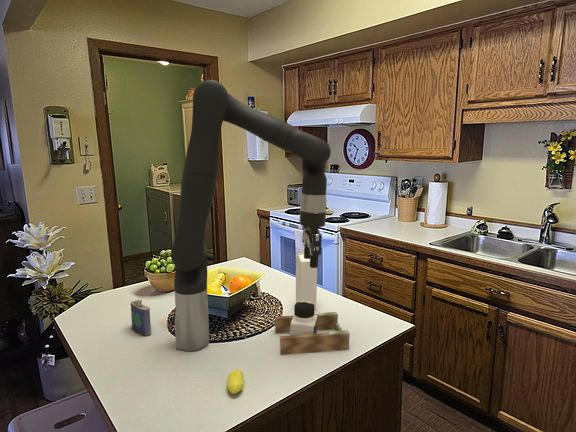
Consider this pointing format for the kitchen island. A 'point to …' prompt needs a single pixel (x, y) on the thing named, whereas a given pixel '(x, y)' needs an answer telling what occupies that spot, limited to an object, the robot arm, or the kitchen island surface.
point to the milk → (305, 280)
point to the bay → (313, 336)
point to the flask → (140, 318)
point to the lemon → (235, 381)
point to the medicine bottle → (303, 319)
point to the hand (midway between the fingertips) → (310, 262)
